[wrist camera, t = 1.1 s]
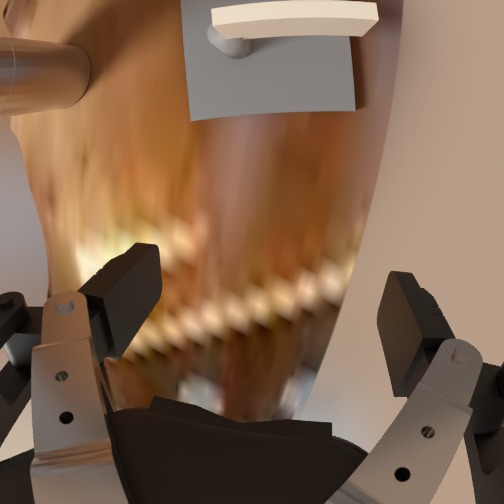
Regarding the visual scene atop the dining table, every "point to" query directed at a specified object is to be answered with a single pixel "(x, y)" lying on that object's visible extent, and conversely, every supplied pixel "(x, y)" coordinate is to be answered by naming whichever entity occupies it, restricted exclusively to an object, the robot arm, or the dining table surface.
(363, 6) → the lever handle
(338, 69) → the board
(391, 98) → the dining table surface
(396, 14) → the dining table surface
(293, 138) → the dining table surface
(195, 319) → the dining table surface
